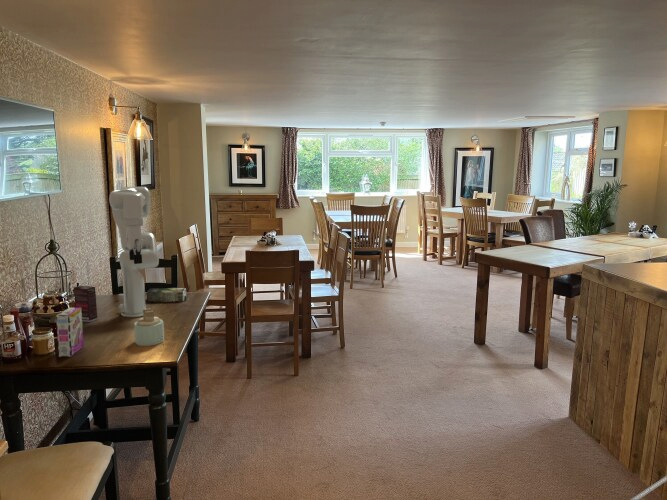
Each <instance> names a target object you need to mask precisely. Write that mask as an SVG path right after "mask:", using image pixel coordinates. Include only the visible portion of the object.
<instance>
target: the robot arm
mask: <svg viewBox="0 0 667 500" xmlns="http://www.w3.org/2000/svg"><path fill="white" fill-rule="evenodd" d="M108 196H109V198H108V200H109V205H110V207H111V212H112V216H113V217H112V218H113V220H114V222H115V224H116V226H117V228H118V230H119V236H120V245H121V249H122V250H123V251H121V253H120V254H119V257H118V258H119V259H118V260H119V264H120V269H121V274H122V287H123V288H122V290H123V291H122V292H123V303H120V304H119V305H118V309H120V310H122V311H121V313H120V314H121V316H122V317H125V318H139V317H143V309H147V308H146V290H145V278H144V276H143V274H142V273H141V272H140V271H139V270H144V269H146V270H147V269H155V268H157V267H158V266H159V264H160V263H159V262H160V259H159V251H158V247H157V246H158V245H157V240H156V236H155V235H154V233H152V232H147V231H145V232H143V231H142V227H143V226H144V218H147V217H149V215H150V213H151V201H152V200H151V192H150V190H149V188H147V187H146V186H124V187H122V188H120V189H116V190H112V191H111V192H110V193H109V195H108Z"/></svg>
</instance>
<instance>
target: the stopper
mask: <svg viewBox="0 0 667 500" xmlns="http://www.w3.org/2000/svg"><path fill="white" fill-rule="evenodd" d="M154 313H155V312H154V310H152V308H150V307H149V308H146V309H143V316H142V317H141V318H139V319H137V321H138V325H141V326H150V325H155V324H158V323H159V322H160V319H161V318H160V317H158V316H155V314H154Z"/></svg>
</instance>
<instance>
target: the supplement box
mask: <svg viewBox="0 0 667 500" xmlns="http://www.w3.org/2000/svg"><path fill="white" fill-rule="evenodd" d="M73 297H74V308H81V309H82V322H86V323H92V322H94V321H97V320H98V309H97V307H98V306H97V296H96V287H95V286H90V285H89V286H88V285H78V286H74V287H73Z"/></svg>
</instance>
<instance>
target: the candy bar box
mask: <svg viewBox="0 0 667 500" xmlns="http://www.w3.org/2000/svg"><path fill="white" fill-rule="evenodd" d="M55 320H56V322H55V323H56V333H57V348H58V358H72V357H73V356H74V355H76V354H77V352H78V353H79V351H81V349H83V348H84V347H85V346H84V345H85V344H84V330H83V327H84V326H83V321H82V309H81V308H75V307H68V308H66V309H64V310H63V311H61V312H60V313H58V314H56V315H55Z"/></svg>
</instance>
